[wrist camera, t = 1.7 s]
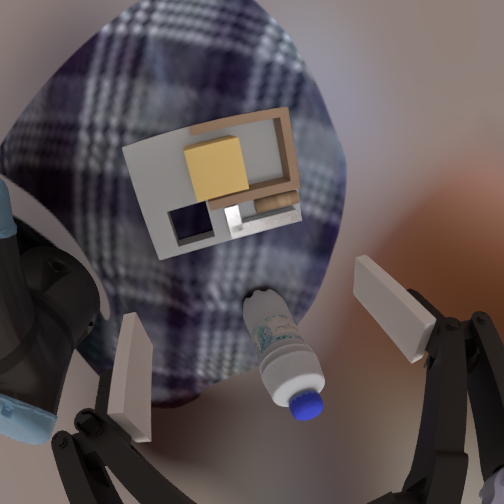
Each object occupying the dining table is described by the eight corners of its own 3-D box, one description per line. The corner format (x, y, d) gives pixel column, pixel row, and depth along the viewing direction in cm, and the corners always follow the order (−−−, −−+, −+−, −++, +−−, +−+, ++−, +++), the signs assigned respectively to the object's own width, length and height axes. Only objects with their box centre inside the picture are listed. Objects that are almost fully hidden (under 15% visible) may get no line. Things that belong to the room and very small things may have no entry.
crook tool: (230, 234, 33) (232, 239, 32) (222, 204, 31) (224, 208, 30) (293, 217, 34) (298, 221, 33) (289, 187, 32) (293, 191, 31)
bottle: (290, 290, 41) (353, 396, 24) (269, 323, 44) (316, 431, 26) (250, 277, 39) (302, 395, 22) (231, 314, 41) (265, 433, 24)
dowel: (255, 211, 33) (258, 214, 31) (252, 198, 32) (255, 201, 30) (295, 201, 33) (300, 204, 32) (293, 188, 32) (298, 190, 31)
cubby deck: (160, 253, 34) (158, 270, 30) (125, 146, 28) (116, 149, 24) (296, 215, 36) (309, 227, 32) (278, 107, 30) (292, 106, 26)
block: (195, 189, 30) (197, 202, 26) (184, 146, 28) (183, 151, 23) (239, 178, 30) (249, 188, 26) (230, 134, 28) (238, 137, 24)
